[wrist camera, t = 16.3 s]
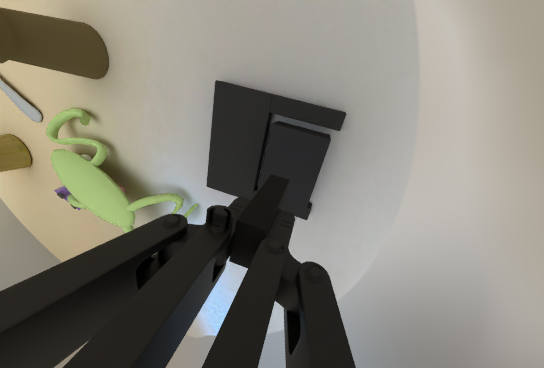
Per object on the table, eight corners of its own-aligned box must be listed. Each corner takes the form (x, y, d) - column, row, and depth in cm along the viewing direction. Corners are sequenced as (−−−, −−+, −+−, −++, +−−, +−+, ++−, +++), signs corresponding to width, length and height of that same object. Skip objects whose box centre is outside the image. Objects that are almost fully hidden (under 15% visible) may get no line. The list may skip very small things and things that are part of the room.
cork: (98, 89, 26) (-36, 82, 17) (63, 51, 26) (-101, 20, 16) (115, 53, 24) (-32, 19, 14) (77, 9, 23) (-109, -60, 13)
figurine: (167, 269, 38) (143, 295, 33) (54, 177, 36) (10, 190, 31) (214, 216, 30) (192, 239, 25) (71, 93, 28) (15, 91, 23)
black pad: (212, 182, 28) (206, 186, 26) (221, 81, 22) (215, 80, 21) (308, 214, 26) (307, 220, 24) (345, 112, 20) (346, 113, 19)
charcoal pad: (330, 134, 21) (330, 139, 19) (308, 196, 25) (306, 208, 22) (278, 120, 22) (271, 123, 19) (264, 182, 26) (257, 192, 23)
